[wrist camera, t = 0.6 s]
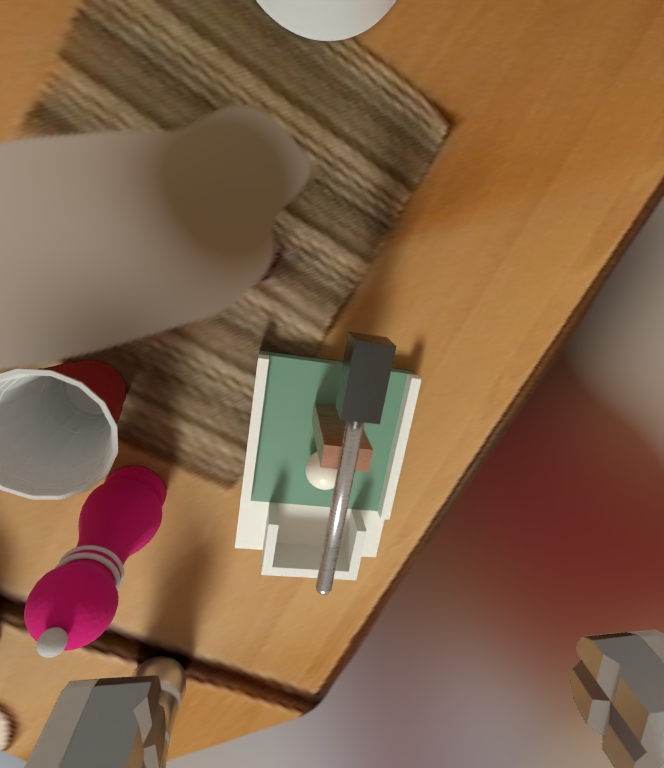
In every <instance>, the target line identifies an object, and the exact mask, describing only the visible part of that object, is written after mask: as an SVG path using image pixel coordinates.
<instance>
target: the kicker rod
mask: <svg viewBox="0 0 664 768" xmlns="http://www.w3.org/2000/svg"><path fill="white" fill-rule="evenodd" d="M395 350H396V345H395V344H393V343H392V342H391V341H390V340H389V339H388V338H387V337H380V336H373V335H366V334H360V333H353V332H348V338H347V344H346V349H345V355H344V360H343V366H342V372H341V377H340V383H339V388H338V394H337V400H336V405H329V404H321V403H314V409H313V415H312V426H313V432H314V437H315V442H316V447H317V452H318V457H319V462H320V468H331V469H337V474H336V480H335V485H334V490H333V496H332V501H331V506H330V512H329V517H328V523H327V528H326V533H325V539H324V544H323V549H322V555H321V560H320V565H319V571H318V576H317V581H316V590H317V592H318V593H319V594H321V595H326V594H328V593H329V592H330V591H331V589H332V584H333V579H334V574H335V569H336V564H337V559H338V554H339V549H340V544H341V539H342V534H343V529H344V524H345V519H346V514H347V509H348V504H349V499H350V494H351V489H352V484H353V479H354V474H355V471H362V472H369V468H370V464H371V459H372V454H373V448H372V446H371V444H370V442H369V439H368V437H367V435H366V433H365V431H364V424H365V423H372V424H380V422H381V417H382V412H383V407H384V402H385V398H386V393H387V388H388V383H389V379H390V374H391V369H392V364H393V359H394V355H395Z"/></svg>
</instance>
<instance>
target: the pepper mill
mask: <svg viewBox="0 0 664 768" xmlns="http://www.w3.org/2000/svg"><path fill="white" fill-rule="evenodd" d="M165 497H166V490H165V486H164V484H163V482H162V480H161V479H160V478H159V476H157V475H156V474H155V473H154V472H152V471H151V470H149V469H146V468H143V467H138V466H128V467H123V468H120V469H118V470H116V471H115V472H113V473H112V474H111V475H110V476H109V477H108V478H107V480H106V481H105V483H104V484H102V485H100V486H99V487H98V488H96V489H95V490H94V491H93V492H92V493H91V494H90V495H89V496H88V498H87V500H86V502H85V503H84V505H83V507H82V510H81V513H80V518H79V541H78V545H77V547H76V548H74V549H72V550H70V551H68V552H67V553H66V554H65V555H64V556H63V557H62V558H61V560H60V562H59V564H58V565H57V566H56V567H55V569H53V570H51V571H50V572H48V573H46V574H45V575H44V576H43V577H42V578H41V579H40V580H39V581H38V582H37V583H36V585H35V586H34V588H33V589H32V591H31V593H30V594H29V597H28V599H27V602H26V606H25V612H24V620H25V624H26V627H27V630H28V631H29V633H30V635H31V636H32V637H33V638H34V639H35V640H36V641H37V650H38V652H39V654H40V655H41V656H43V657H48V658H50V657H54V656H57V655H58V654H60V653H61V652H62V651H63V650H73V649H77V648H80V647H83V646H85V645H87V644H89V643H90V642H92V641H94V640H95V639H96V638H98V637H99V636H100V635H101V634H102V633H103V632H104V631H105V630H106V628H107V627H108V626H109V624H110V623H111V621H112V619H113V618H114V616H115V613H116V610H117V606H118V590H119V587H120V585H121V583H122V581H123V577H124V568H123V565H124V563H125V561H126V560H127V558H128V557H129V556H130V555H132V554H134V553H136V552H137V551H139V550H140V549H142V548H143V547H144V546H145V545H146V544H147V543H149V542H150V540H151V539H152V538H153V537H154V535H155V534H156V532H157V530H158V528H159V526H160V524H161V520H162V506H163V504H164V501H165Z"/></svg>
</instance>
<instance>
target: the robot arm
mask: <svg viewBox="0 0 664 768" xmlns="http://www.w3.org/2000/svg"><path fill="white" fill-rule="evenodd" d="M256 1H257V2H258V3H259V5H260V6H261V7H262V8H263V9H264V11H265V12H266V13H267V14H268V15H269V16H270V17H272V18H273V19H274V20H275V21H276V22H278V23H279V24H280V25H282V26H283V27H285V28H286V29H288V30H290V31H291V32H293V33H295V34H298V35H300V36H303V37H306V38H309V39H314V40H321V41H336V40H343V39H347V38H350V37H353V36H356V35H358V34H360V33H362V32H364V31H366V30H367V29H369V28H370V27H372V26H373V25H374V24H376V23H377V22H378V21H379V20H380V19H381V18H382V17H383V16H384V15H385V14H386V13H387V12H388V11H389V10H390V8H391V7H392V6H393V5H394V3H395V2H396V1H397V0H256ZM576 652H577V654H578V655H579V657H580V658H581V660H580V661H579V662H578V663H577V664H576V666H575V667H574V668H573V669H572V674H571V680H570V684H571V689H572V694H573V699H574V701H575V703H576V706H577V708H578V710H579V712H580V714H581V716H582V717H583V719H584V720H585V722H586V724H587V725H588V726H590V727H591V728H592V729H594V730H595V731H597V732H598V733H599V734H601V735H602V741H603V742H602V749H603V751H604V753H605V754H606V755H607V757H608V759H609V760H610V762H611V764H612V765H613V767H614V768H664V635H663V634H662V633H660V632H659V631H657V630H647V631H636V632H621V633H611V634H603V635H592V636H583V637H582V638H581V639H580V640H579V641H578V644H577V648H576ZM160 693H161V684H160V679H159V676H157V675H152V676H136V677H119V678H103V679H92V680H78V681H70V682H69V683H68V684H67V686H66V687H65V688H64V689H63V690H62V692H61V694H60V696H59V698H58V700H57V702H56V704H55V706H54V708H53V710H52V712H51V714H50V716H49V718H48V720H47V722H46V724H45V726H44V729H43V731H42V733H41V735H40V737H39V739H38V741H37V743H36V745H35V747H34V749H33V751H32V753H31V755H30V757H29V759H28V761H27V763H26V765H25V767H24V768H160V765H161V761H162V756H163V751H164V742H165V734H166V717H165V710H164V707H163V706H161V705H160V704H159V703H158V701H159V697H160Z"/></svg>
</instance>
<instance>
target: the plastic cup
mask: <svg viewBox="0 0 664 768" xmlns="http://www.w3.org/2000/svg"><path fill="white" fill-rule="evenodd" d="M125 398H126V393H125V383H124V381H123V379H122V376H121V374H120V373H119V372H118V371H117V370H115V369H114V368H113V367H112V366H111V365H108V364H106V363H104V362H102V361H96V360H82V361H78V362H69V363H65V364H61V365H56V366H52V367H48V368H44V369H41V368H40V369H23V368H19V369H15V370H11V371H8V372H5V373H2V374H0V489H1V490H3V491H6V492H9V493H12V494H16V495H19V496H22V497H25V498H29V499H64V498H67V497H70V496H73V495H76V494H79V493H82V492H85V491H88V490H89V489H91V488H92V487H93V486H94V485H95V484H97V483H98V482H99V481H100V480H102V479H103V478H104V477H105V476H106V475H108V473H109V471H110V469H111V466H112V464H113V462H114V460H115V458H116V456H117V454H118V434H117V423H118V420H119V417H120V414H121V411H122V405H123V403H124V401H125Z"/></svg>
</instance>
